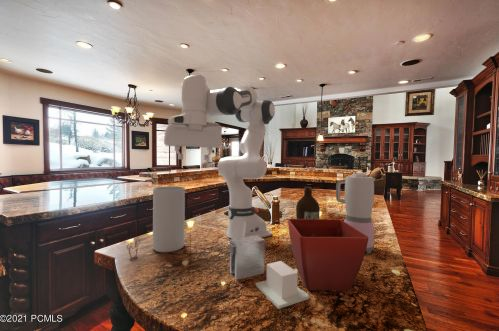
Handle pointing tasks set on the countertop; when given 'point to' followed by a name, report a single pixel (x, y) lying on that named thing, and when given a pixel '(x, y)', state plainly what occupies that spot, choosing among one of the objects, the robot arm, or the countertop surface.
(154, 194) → the cylinder vase
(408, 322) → the countertop surface
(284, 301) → the sage mat
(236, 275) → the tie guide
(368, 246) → the blender
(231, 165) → the robot arm
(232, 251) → the bar
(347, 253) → the plant pot
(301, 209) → the olive oil
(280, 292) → the off-white cardboard box
